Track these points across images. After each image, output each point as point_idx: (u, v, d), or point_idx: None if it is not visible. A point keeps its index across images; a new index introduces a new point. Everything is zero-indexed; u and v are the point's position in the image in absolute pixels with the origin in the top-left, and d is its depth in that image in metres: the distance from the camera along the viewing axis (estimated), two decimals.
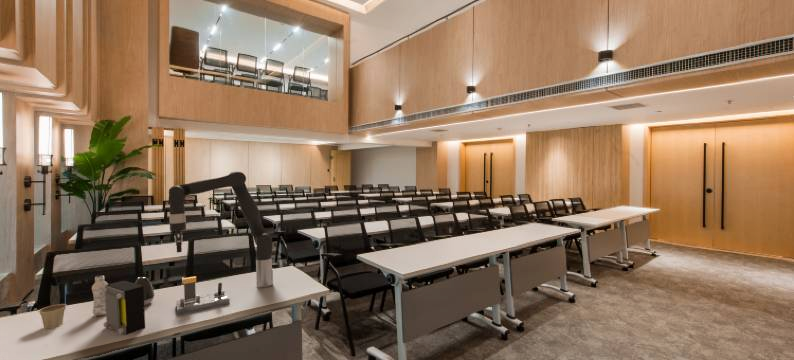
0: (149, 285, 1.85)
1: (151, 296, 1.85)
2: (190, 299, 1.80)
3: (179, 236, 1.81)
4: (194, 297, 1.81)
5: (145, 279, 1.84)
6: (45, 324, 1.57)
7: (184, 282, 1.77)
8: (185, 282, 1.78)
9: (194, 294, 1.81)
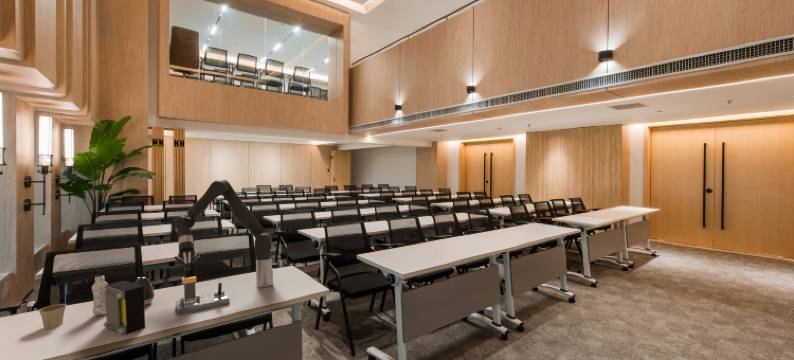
0: (149, 285, 1.85)
1: (151, 296, 1.85)
2: (190, 299, 1.80)
3: (175, 259, 1.90)
4: (194, 297, 1.81)
5: (145, 279, 1.84)
6: (45, 324, 1.57)
7: (184, 282, 1.77)
8: (185, 282, 1.78)
9: (194, 294, 1.81)
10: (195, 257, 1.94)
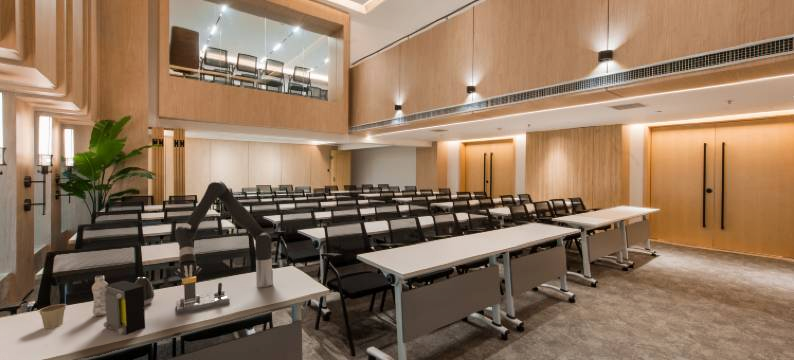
0: (149, 285, 1.85)
1: (151, 296, 1.85)
2: (190, 299, 1.80)
3: (176, 273, 1.82)
4: (194, 297, 1.81)
5: (145, 279, 1.84)
6: (45, 324, 1.57)
7: (184, 282, 1.77)
8: (185, 282, 1.78)
9: (194, 294, 1.81)
10: (197, 270, 1.86)
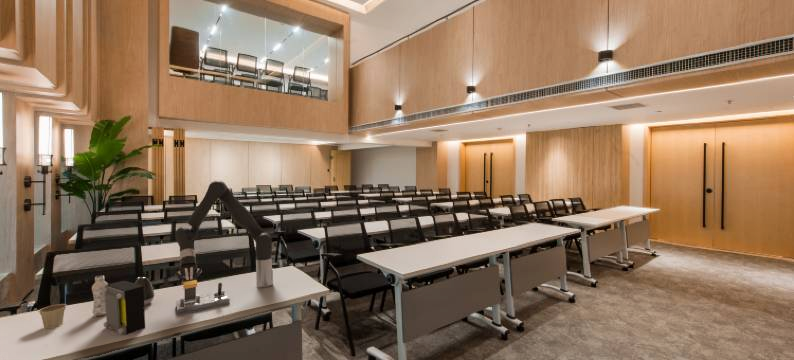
0: (149, 285, 1.85)
1: (151, 296, 1.85)
2: (190, 300, 1.80)
3: (176, 275, 1.79)
4: (194, 298, 1.80)
5: (145, 279, 1.84)
6: (45, 324, 1.57)
7: (185, 287, 1.74)
8: (186, 287, 1.74)
9: (194, 296, 1.80)
10: (197, 273, 1.83)
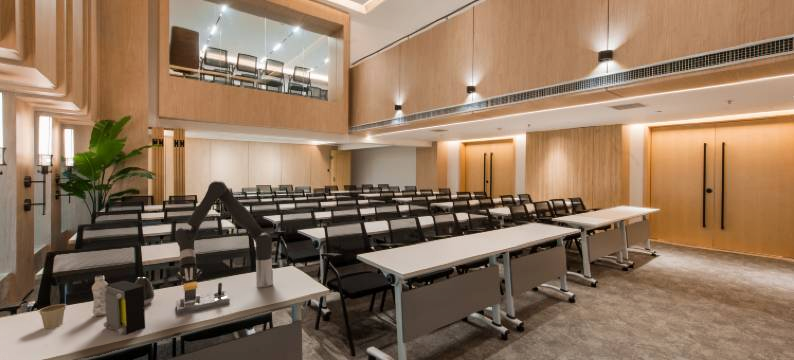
0: (149, 285, 1.85)
1: (151, 296, 1.85)
2: (190, 300, 1.80)
3: (176, 276, 1.78)
4: (194, 298, 1.80)
5: (145, 279, 1.84)
6: (45, 324, 1.57)
7: (185, 289, 1.73)
8: (186, 289, 1.73)
9: (194, 296, 1.80)
10: (197, 273, 1.82)
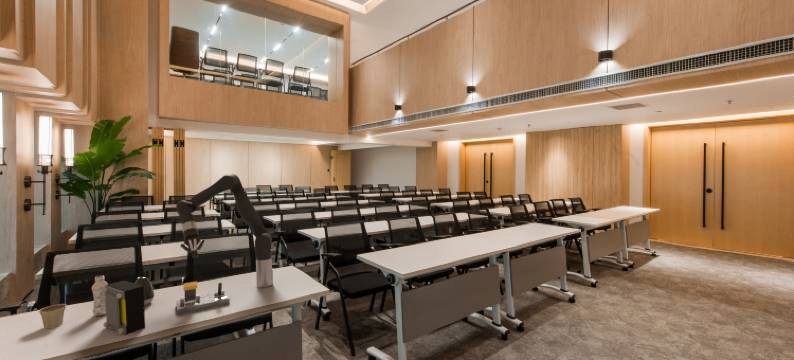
0: (149, 285, 1.85)
1: (151, 296, 1.85)
2: (190, 300, 1.80)
3: (182, 247, 1.94)
4: (194, 298, 1.80)
5: (145, 279, 1.84)
6: (45, 324, 1.57)
7: (185, 289, 1.73)
8: (186, 289, 1.73)
9: (194, 296, 1.80)
10: (201, 244, 1.99)
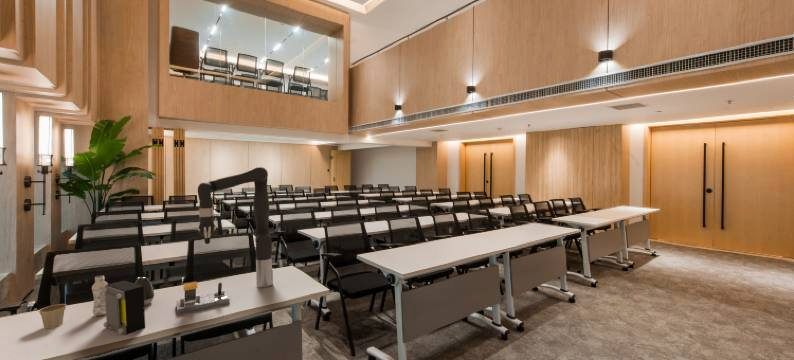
0: (149, 285, 1.85)
1: (151, 296, 1.85)
2: (190, 300, 1.80)
3: None
4: (194, 298, 1.80)
5: (145, 279, 1.84)
6: (45, 324, 1.57)
7: (185, 289, 1.73)
8: (186, 289, 1.73)
9: (194, 296, 1.80)
10: (214, 232, 2.04)
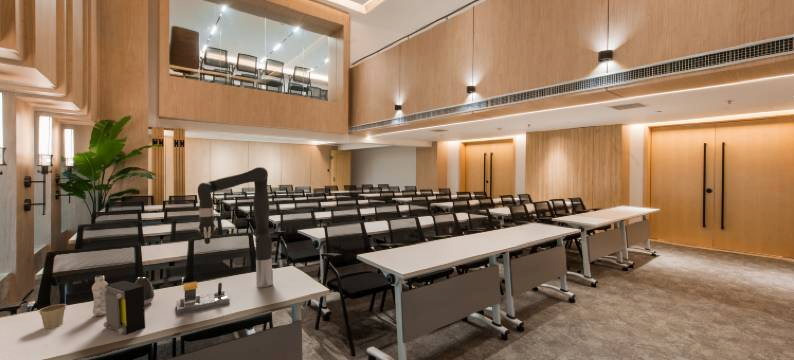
0: (149, 285, 1.85)
1: (151, 296, 1.85)
2: (190, 300, 1.80)
3: None
4: (194, 298, 1.80)
5: (145, 279, 1.84)
6: (45, 324, 1.57)
7: (185, 289, 1.73)
8: (186, 289, 1.73)
9: (194, 296, 1.80)
10: (214, 232, 2.04)
